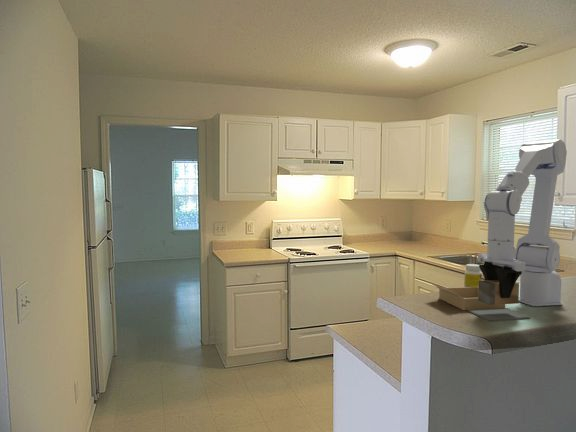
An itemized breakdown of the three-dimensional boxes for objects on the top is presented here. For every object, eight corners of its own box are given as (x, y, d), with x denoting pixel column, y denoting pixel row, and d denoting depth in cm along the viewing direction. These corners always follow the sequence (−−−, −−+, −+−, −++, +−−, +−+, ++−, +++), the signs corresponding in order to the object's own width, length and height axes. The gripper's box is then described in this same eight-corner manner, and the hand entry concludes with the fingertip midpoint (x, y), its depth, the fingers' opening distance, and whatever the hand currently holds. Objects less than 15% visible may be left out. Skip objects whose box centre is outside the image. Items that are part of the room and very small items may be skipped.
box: (506, 299, 104) (507, 279, 104) (518, 303, 100) (519, 283, 100) (478, 300, 102) (478, 280, 102) (488, 304, 99) (489, 284, 98)
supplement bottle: (482, 295, 122) (483, 266, 121) (465, 294, 123) (466, 266, 122) (478, 291, 126) (479, 264, 126) (462, 290, 127) (463, 263, 127)
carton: (486, 296, 120) (486, 279, 119) (515, 307, 108) (516, 289, 108) (429, 299, 116) (429, 281, 116) (452, 310, 105) (453, 291, 105)
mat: (506, 309, 106) (506, 307, 106) (530, 318, 98) (530, 317, 98) (467, 311, 104) (468, 309, 104) (488, 320, 97) (488, 319, 97)
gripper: (467, 237, 107) (466, 289, 108) (506, 243, 93) (504, 303, 93) (492, 236, 108) (490, 288, 109) (534, 243, 94) (532, 302, 95)
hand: (498, 295), depth 101 cm, fingers closed on box, 4 cm apart
